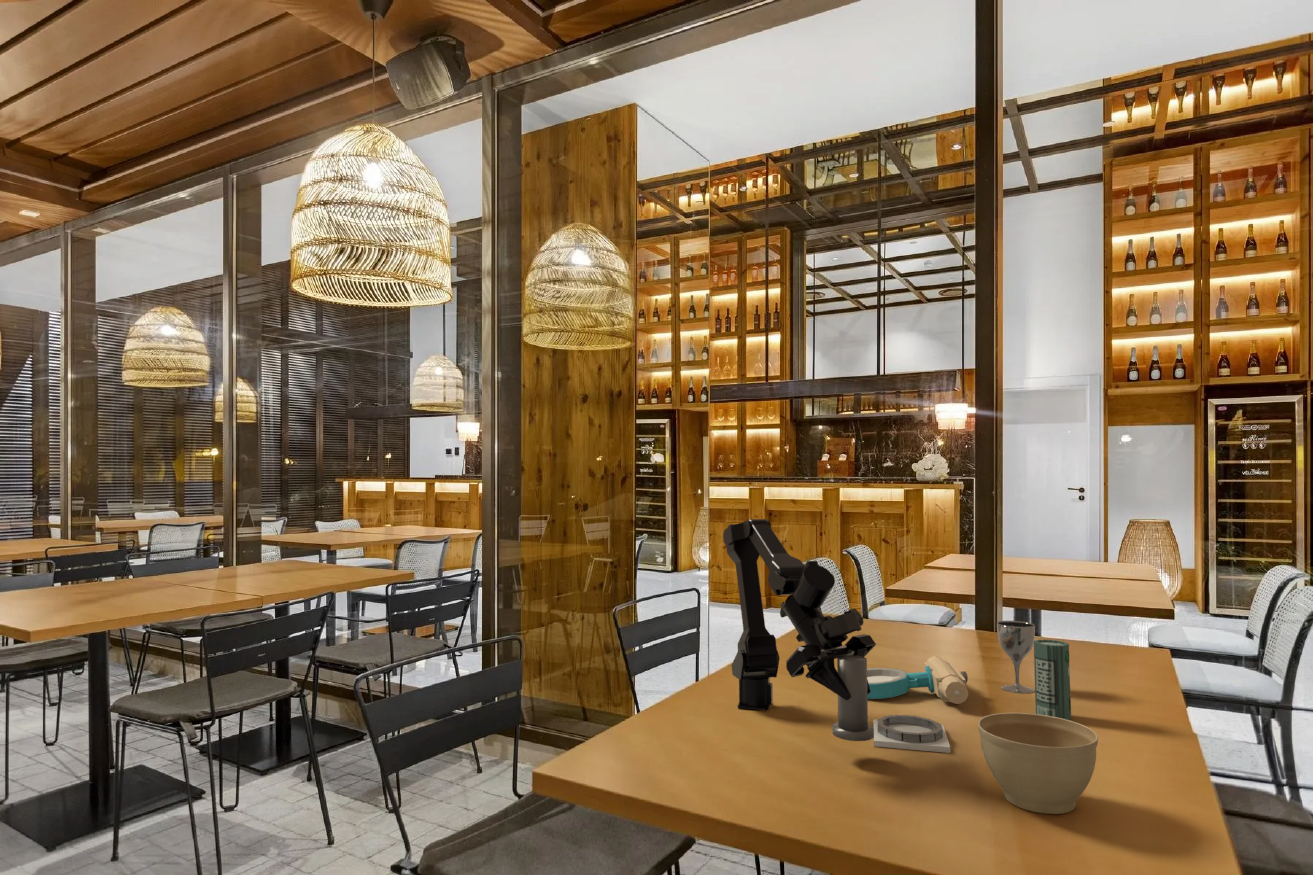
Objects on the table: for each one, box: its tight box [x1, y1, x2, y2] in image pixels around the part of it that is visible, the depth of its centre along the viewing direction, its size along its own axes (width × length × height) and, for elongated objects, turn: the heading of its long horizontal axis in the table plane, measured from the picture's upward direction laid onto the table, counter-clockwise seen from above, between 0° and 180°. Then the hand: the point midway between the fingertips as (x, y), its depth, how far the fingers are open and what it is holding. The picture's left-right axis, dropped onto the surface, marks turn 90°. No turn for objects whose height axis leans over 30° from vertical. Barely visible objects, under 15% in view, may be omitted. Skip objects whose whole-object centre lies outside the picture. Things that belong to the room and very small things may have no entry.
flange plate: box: [872, 714, 951, 754], centre depth 142 cm, size 13×13×2 cm
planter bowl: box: [977, 712, 1099, 815], centre depth 114 cm, size 16×16×11 cm
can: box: [1033, 639, 1072, 721], centre depth 155 cm, size 6×6×15 cm
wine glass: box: [996, 620, 1036, 694], centre depth 176 cm, size 8×8×15 cm
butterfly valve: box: [867, 655, 969, 705], centre depth 172 cm, size 27×7×30 cm
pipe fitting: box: [831, 655, 874, 742], centre depth 132 cm, size 7×7×13 cm
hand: (858, 696), depth 131 cm, fingers closed on pipe fitting, 5 cm apart
